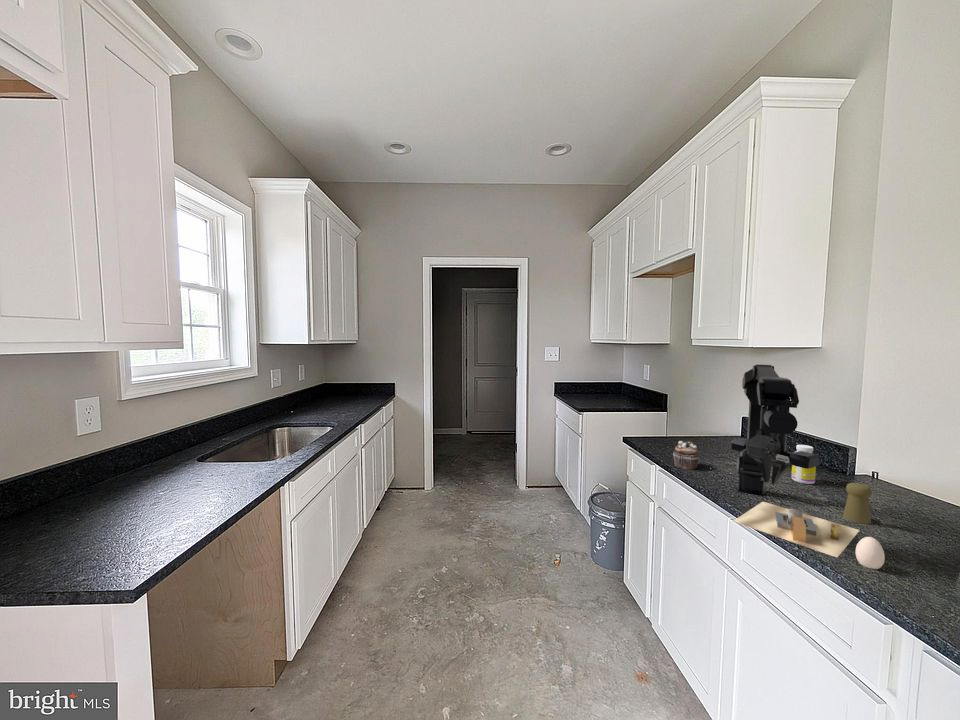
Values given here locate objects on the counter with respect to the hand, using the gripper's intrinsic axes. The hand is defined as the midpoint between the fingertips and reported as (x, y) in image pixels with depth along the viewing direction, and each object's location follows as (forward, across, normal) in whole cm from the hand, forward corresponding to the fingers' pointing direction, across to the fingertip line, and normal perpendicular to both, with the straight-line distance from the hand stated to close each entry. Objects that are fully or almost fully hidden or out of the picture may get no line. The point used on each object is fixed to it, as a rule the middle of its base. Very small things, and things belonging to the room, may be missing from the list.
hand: (770, 483), depth 105 cm
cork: (+13, +8, +28) cm, 32 cm away
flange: (+12, +4, +5) cm, 14 cm away
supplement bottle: (+13, -15, +51) cm, 55 cm away
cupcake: (+13, -44, +28) cm, 54 cm away
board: (+13, +3, +8) cm, 15 cm away
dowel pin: (+12, +11, +9) cm, 18 cm away
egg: (+13, +20, +1) cm, 24 cm away
